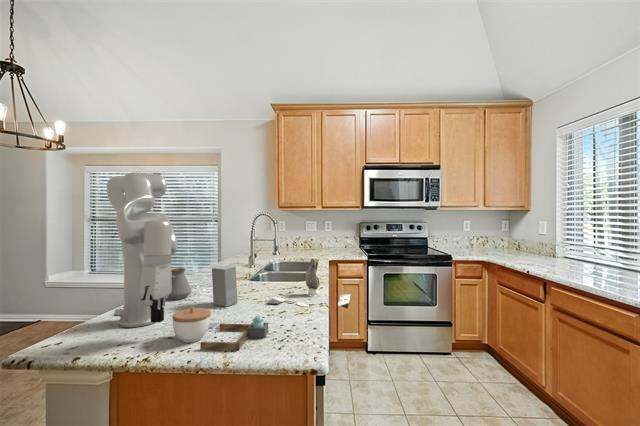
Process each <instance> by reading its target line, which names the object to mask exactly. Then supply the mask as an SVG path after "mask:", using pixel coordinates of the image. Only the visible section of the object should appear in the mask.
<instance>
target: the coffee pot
mask: <svg viewBox="0 0 640 426" xmlns="http://www.w3.org/2000/svg"><path fill="white" fill-rule="evenodd" d="M186 270H187V269H186V268H183V267H181V268H180V267H179V268H171V274H172V291H171V293H170V294H169V297H168V298H167V299H168V300H170V301H178V300H180V301H181V300H184V299H186V298H188V296H190V294H191V293H192V287H191V285H190V284H189V282H188V279H187V277H186V275H185V271H186Z"/></svg>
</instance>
